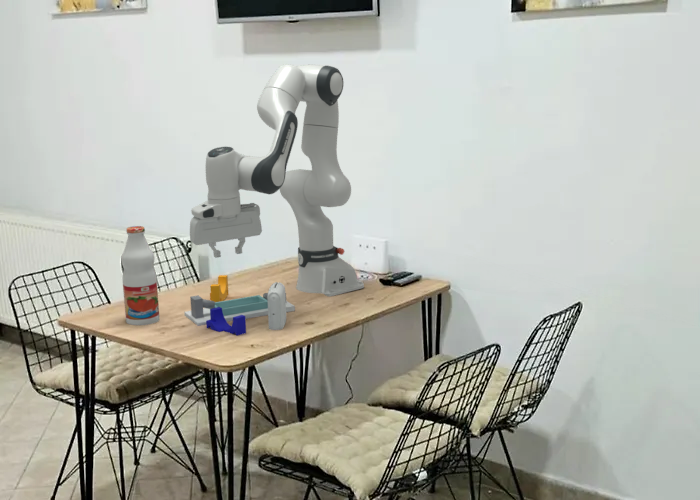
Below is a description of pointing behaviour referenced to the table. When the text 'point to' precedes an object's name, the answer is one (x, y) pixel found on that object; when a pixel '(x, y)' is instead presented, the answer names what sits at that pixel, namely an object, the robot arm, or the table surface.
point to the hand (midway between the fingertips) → (228, 255)
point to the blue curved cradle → (221, 324)
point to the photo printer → (276, 306)
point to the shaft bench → (230, 308)
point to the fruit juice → (139, 279)
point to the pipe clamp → (219, 289)
